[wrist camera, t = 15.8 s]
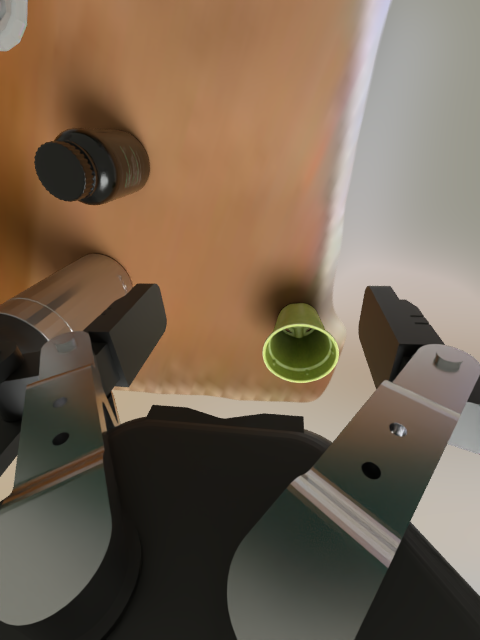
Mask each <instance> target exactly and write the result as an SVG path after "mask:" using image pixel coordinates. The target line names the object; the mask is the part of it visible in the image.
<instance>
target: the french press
mask: <svg viewBox="0 0 480 640" xmlns="http://www.w3.org/2000/svg"><path fill="white" fill-rule="evenodd" d="M27 3H28V0H0V51H8V50H10V49H11V48H12V47H14V46H15V45H17V44H18V43H20V41H21V38H22V36H23V33H24V31H25V29H26V26H27Z"/></svg>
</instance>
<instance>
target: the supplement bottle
mask: <svg viewBox="0 0 480 640" xmlns="http://www.w3.org/2000/svg"><path fill="white" fill-rule="evenodd" d="M34 163H35V169H36V173H37V175H38V177H39V180H40V181H41V183H42V185H43V186H44V187H45V188H46V190H48V191H49V192H50V194H52V195H54V196H55V197H57V198H59V199H60V200H64V201H70V202H71V201H77V200H78V201H80V202H82V203H84V204H88V205H101V204H104V203H107V202H110V201H113V200H116V199H118V198H121V197H124V196H127V195H129V194H132V193H134V192H137V191H139V190H140V189H141V188H143V186H144V185H145V184H146V182H147V180H148V177H149V172H150V165H149V159H148V156H147V153H146V151H145V149H144V147H143V146H142V144H141V143H140V142H139V141H138V140H137V139H136V138H135V137H134V136H132V135H131V134H129V133H127V132H125V131H122V130H115V129H89V128H72V129H67V130H65V131H63V132H61V133H60V134H59V135H58V136H57V137H56V138H55V140H54V141H51V142H46V143H45V144H42V145H41V147H39V148H38V151H37V152H36V156H35V162H34Z"/></svg>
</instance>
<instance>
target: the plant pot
mask: <svg viewBox="0 0 480 640" xmlns="http://www.w3.org/2000/svg"><path fill="white" fill-rule="evenodd" d="M286 328H287V329H288V330H289V331H290V332H288V331H286V330H285V329H286ZM309 328H312V329H311V330H310V331H308V332H306V330H308V329H309ZM291 332H292V333H291ZM338 357H339V349H338V345H337V343H336V341H335V339H334V338H333V337H332V335H331V334H330V333H329V332H327V331H326V330H325V329H324V326H323V324H322V322H321V320H320V317H319V315H318V313H317V312H316V310H315V309H314V308H313V307H311V306H310V305H308V304H305V303H297V304H290V305H287V306H286V307H284V308H283V309H282V310H281V312H280V313H279V315H278V318H277V322H276V324H275V327H274V330H273V332H272V333H271V334H270V335H269V337H268V338H267V339H266V341H265V344H264V347H263V359H264V362H265V364H266V366H267V368H268V369H269V370H270V371H271V372H272V373H273V374H274V375H276V376H278V377H279V378H281V379H284V380H287V381H291V382H298V383H306V382H311V381H315V380H318V379H321V378H323V377H324V376H326V375H327V374H328V373H330V372H331V371H332V370H333V368H334V367H335V365H336V364H337V361H338Z"/></svg>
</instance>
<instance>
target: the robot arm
mask: <svg viewBox="0 0 480 640" xmlns="http://www.w3.org/2000/svg"><path fill="white" fill-rule="evenodd" d="M166 324H167V320H166V314H165V309H164V305H163V301H162V296H161V292H160V288H159V286H158V285H157V284H136V285H135V286H134V287H133V288H132V284H131V281H130V278H129V276H128V274H127V273H126V271H125V270H124V269H123V267H122V266H121V265H120V264H118V263H117V262H116V261H115V260H113V259H111V258H110V257H107V256H105V255H101V254H88V255H85V256H84V257H82V258H80V259H78V260H77V261H75V262H73V263H71V264H69V265H68V266H66V267H64V268H62V269H61V270H59V271H57V272H56V273H54V274H52V275H50V276H49V277H47V278H45V279H44V280H42V281H40V282H38V283H37V284H35V285H33V286H32V287H30V288H28V289H26V290H25V291H23V292H21V293H20V294H18V295H16V296H14V297H13V298H11V299H9V300H7V301H6V302H4V303H3V304H1V305H0V476H1V475H2V474H3V473H4V471H5V470H6V469H7V468H8V466H9V465H10V464H11V463H12V461H13V460H14V459H15V457H16V456H17V455H18V456H17V464H16V472H15V481H14V487H13V491H12V493H11V494H10V495H9V496H8V497H6V498H5V499H4V500H2V501H1V502H0V640H480V596H479V595H478V594H477V593H476V592H475V591H474V590H473V589H472V588H471V586H470V585H469V584H468V583H467V582H466V581H465V580H464V579H463V578H462V577H461V576H460V575H459V573H458V572H457V571H456V570H455V569H454V568H453V567H452V566H451V565H450V564H449V563H448V562H447V561H446V560H445V558H444V557H443V556H442V555H441V554H440V553H439V552H438V551H437V550H436V549H435V548H434V547H433V546H432V545H431V544H430V542H429V541H428V540H427V539H426V538H425V537H424V536H423V535H422V534H421V533H420V532H419V531H418V529H416V528H415V526H414V525H413V524H412V523H411V522H410V521H411V518H412V517H413V514H414V512H415V510H416V508H417V506H418V504H419V502H420V500H421V498H422V495H423V493H424V491H425V489H426V487H427V485H428V483H429V481H430V479H431V477H432V474H433V473H434V470H435V468H436V466H437V464H438V462H439V460H440V458H441V456H442V454H443V451H444V449H445V447H446V445H447V444H449V445H452V446H455V447H459V448H461V449H464V450H467V451H471V452H474V453H477V454H480V364H479V362H478V361H477V360H476V359H475V358H474V357H472V356H471V355H469V354H468V353H466V352H464V351H462V350H460V349H457V348H455V347H451V346H447V345H445V344H444V343H443V342H442V340H441V339H440V337H439V336H438V335H437V333H436V332H435V331H434V329H433V328H432V326H431V325H429V322H428V321H427V320H426V318H424V316H423V315H422V313H421V311H420V310H419V309H418V308H417V307H416V306H415V305H413V304H412V303H410V302H408V301H407V300H399V298H398V297H397V295H396V294H395V292H394V291H393V289H392V288H391V287H390V286H367V288H366V290H365V294H364V299H363V305H362V311H361V315H360V321H359V339H360V342H361V345H362V348H363V351H364V354H365V357H366V360H367V363H368V366H369V368H370V372H371V374H372V378H373V381H374V384H375V387H376V391H375V392H374V393H373V394H372V395H371V397H370V398H369V399H368V400H367V402H366V403H365V404H364V405H363V406H362V408H361V409H360V410H359V411H358V412H357V414H356V415H355V416H354V417H353V418H352V420H351V421H350V422H349V423H348V425H347V426H346V427H345V428H344V429H343V430H342V432H341V433H340V434H339V435H338V437H337V438H336V439H335V440H334V441H333V443H332V442H331V441H329V440H327V439H326V438H324V437H322V436H320V435H318V434H316V433H313V432H311V431H308V430H305V429H304V422H303V417H302V416H289V415H276V414H257V415H249V416H242V417H234V418H227V419H223V418H218V417H215V416H212V415H209V414H206V413H203V412H199V411H196V410H193V409H190V408H185V407H173V406H159V405H152V407H151V409H150V411H149V413H148V415H147V417H142V418H138V419H134V420H131V421H128V422H125V423H123V424H120V420H119V415H118V411H117V407H116V403H115V399H114V396H113V393H112V391H111V390H112V389H113V388H114V386H119V387H129V386H130V384H131V383H132V381H133V380H134V378H135V377H136V375H137V374H138V372H139V370H140V369H141V367H142V366H143V364H144V363H145V361H146V360H147V358H148V357H149V355H150V353H151V352H152V350H153V349H154V347H155V346H156V344H157V343H158V341H159V339H160V338H161V336H162V335H163V333H164V332H165V329H166Z"/></svg>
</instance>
